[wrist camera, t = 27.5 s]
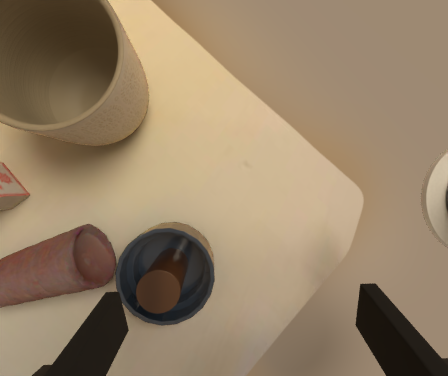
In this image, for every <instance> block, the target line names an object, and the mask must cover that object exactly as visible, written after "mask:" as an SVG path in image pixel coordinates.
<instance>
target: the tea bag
mask: <svg viewBox="0 0 448 376" xmlns="http://www.w3.org/2000/svg"><path fill="white" fill-rule="evenodd" d="M29 195H30V194H29V193H28V192H27V191H26V190H25V188H24V187H23V186H22V185H21V184H20V182H19V181H18V180H17V179H16V178H15V177H14V175H13V174H12V173H11V172H10V171H9V169H8V168H7V167H6V166H5V165H4V163H0V210H7V209H12V208H14V207H15V206H16V205H18V204H19V203H20V202H22V201H23V200H24V199H26V198H27V197H28V196H29Z"/></svg>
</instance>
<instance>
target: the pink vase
mask: <svg viewBox="0 0 448 376" xmlns="http://www.w3.org/2000/svg"><path fill="white" fill-rule="evenodd" d="M115 267H116V257H115V254H114V251H113V249H112V245H111V243H110V242H109V241H108V239H107V237H106V235H105V234H104V233H102V232H101V231H100V230H99V229H97V228H96V227H94V226H93V225H91V224H86V225H83V226H80V227H77V228H75V229H73V230H71V231H69V232H65V233H62V234H60V235H57V236H55V237H53V238H50V239H47V240H45V241H42V242H40V243H38V244H36V245H33V246H30V247H27V248H25V249H23V250H20V251H18V252H16V253H13V254H11V255H8V256H6V257H4V258H2V259H1V260H0V308H1V307H4V306H8V305H16V304H21V303H24V302H30V301H35V300H40V299H43V298H49V297H55V296H60V295H63V294H70V293H75V292H81V291H84V290H89V289H94V288H99V287H102V286H104V285H105V284H107V283H108V282H109V281H110V280H111V279H112V278H113V274H114V271H115Z"/></svg>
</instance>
